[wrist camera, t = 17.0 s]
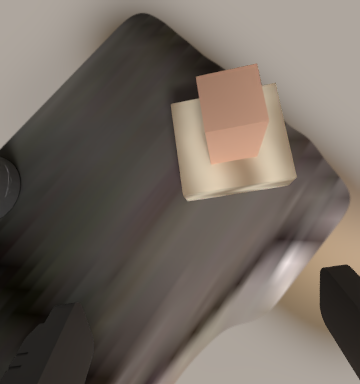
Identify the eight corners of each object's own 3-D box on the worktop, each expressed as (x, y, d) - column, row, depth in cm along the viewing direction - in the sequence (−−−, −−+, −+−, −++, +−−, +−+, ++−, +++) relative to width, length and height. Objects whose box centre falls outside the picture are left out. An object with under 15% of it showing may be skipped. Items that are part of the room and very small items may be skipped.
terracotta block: (211, 164, 31) (205, 132, 23) (204, 122, 32) (195, 76, 24) (257, 156, 31) (269, 120, 22) (248, 113, 32) (257, 63, 23)
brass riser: (187, 201, 35) (183, 195, 31) (176, 118, 37) (170, 104, 34) (288, 185, 34) (296, 177, 30) (270, 100, 36) (275, 82, 32)
